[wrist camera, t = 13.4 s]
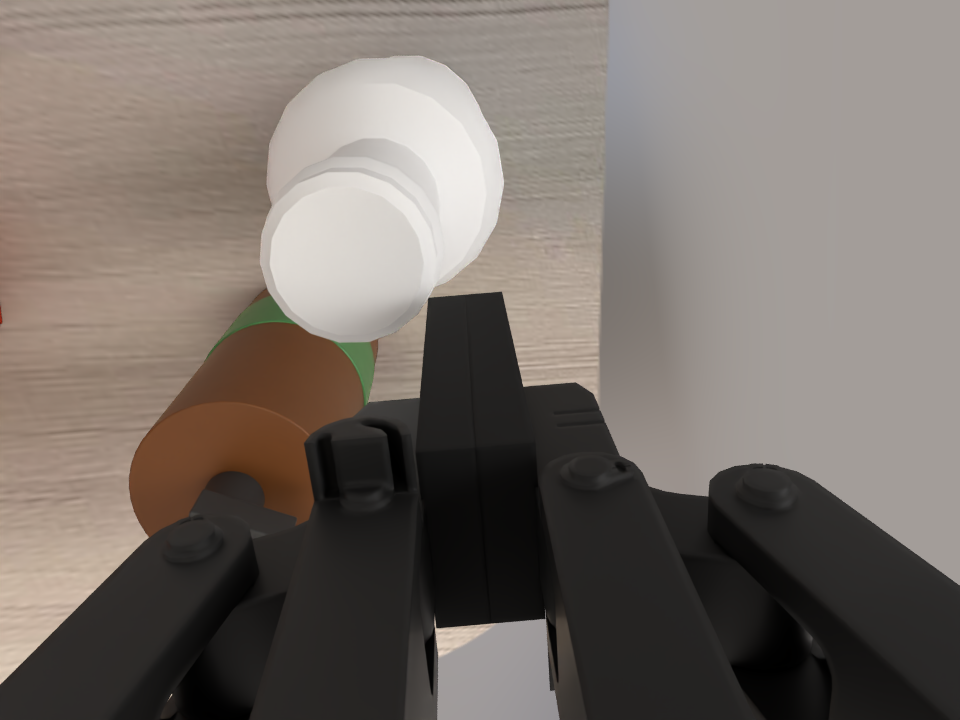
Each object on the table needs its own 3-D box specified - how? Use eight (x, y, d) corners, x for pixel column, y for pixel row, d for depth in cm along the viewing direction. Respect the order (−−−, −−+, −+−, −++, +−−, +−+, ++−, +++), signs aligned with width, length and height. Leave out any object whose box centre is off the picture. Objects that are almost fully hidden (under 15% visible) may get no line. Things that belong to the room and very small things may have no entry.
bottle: (507, 157, 44) (608, 330, 16) (390, 226, 45) (299, 497, 17) (434, 25, 42) (407, -38, 14) (312, 103, 43) (59, 190, 15)
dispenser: (223, 379, 49) (59, 614, 28) (261, 254, 46) (109, 415, 25) (368, 427, 50) (312, 682, 30) (413, 309, 47) (386, 502, 27)
